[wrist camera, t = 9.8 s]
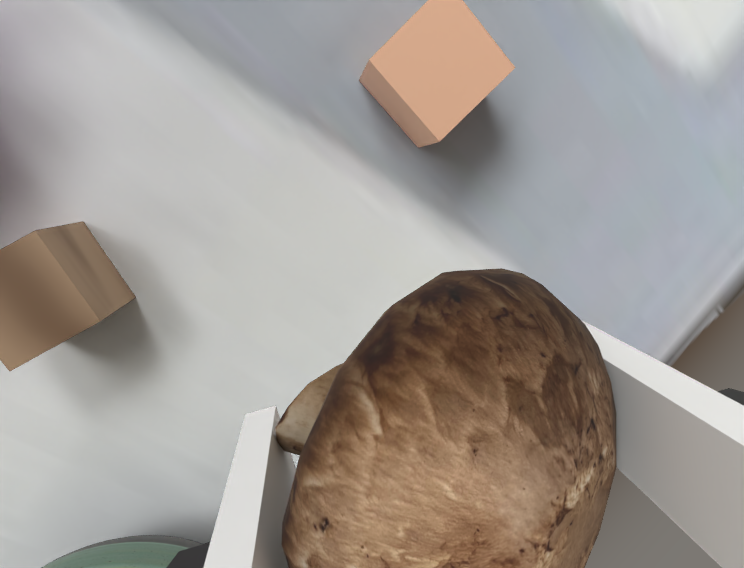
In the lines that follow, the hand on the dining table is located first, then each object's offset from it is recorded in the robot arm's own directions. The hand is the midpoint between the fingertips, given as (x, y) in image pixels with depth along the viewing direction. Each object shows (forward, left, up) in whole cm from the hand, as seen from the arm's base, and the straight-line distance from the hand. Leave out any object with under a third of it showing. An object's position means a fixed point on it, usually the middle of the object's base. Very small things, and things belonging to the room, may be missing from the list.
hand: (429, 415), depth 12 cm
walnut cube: (-16, +4, -18) cm, 24 cm away
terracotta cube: (+6, +10, -18) cm, 22 cm away
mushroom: (0, 0, -1) cm, 1 cm away
